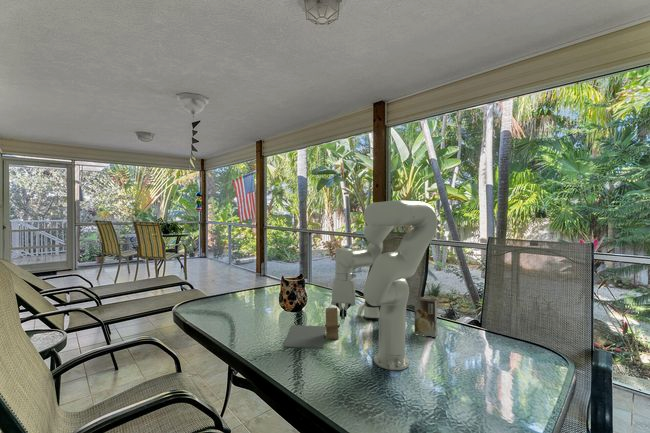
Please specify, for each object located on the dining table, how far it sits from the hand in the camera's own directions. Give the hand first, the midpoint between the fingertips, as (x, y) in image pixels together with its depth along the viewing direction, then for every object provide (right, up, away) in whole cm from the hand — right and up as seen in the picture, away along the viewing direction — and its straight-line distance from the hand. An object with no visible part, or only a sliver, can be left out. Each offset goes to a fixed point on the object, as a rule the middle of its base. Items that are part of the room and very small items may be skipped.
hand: (342, 318), depth 139 cm
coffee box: (+38, -9, +5) cm, 39 cm away
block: (-5, -8, 0) cm, 9 cm away
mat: (-16, -8, +1) cm, 18 cm away
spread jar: (+15, -9, +27) cm, 32 cm away
